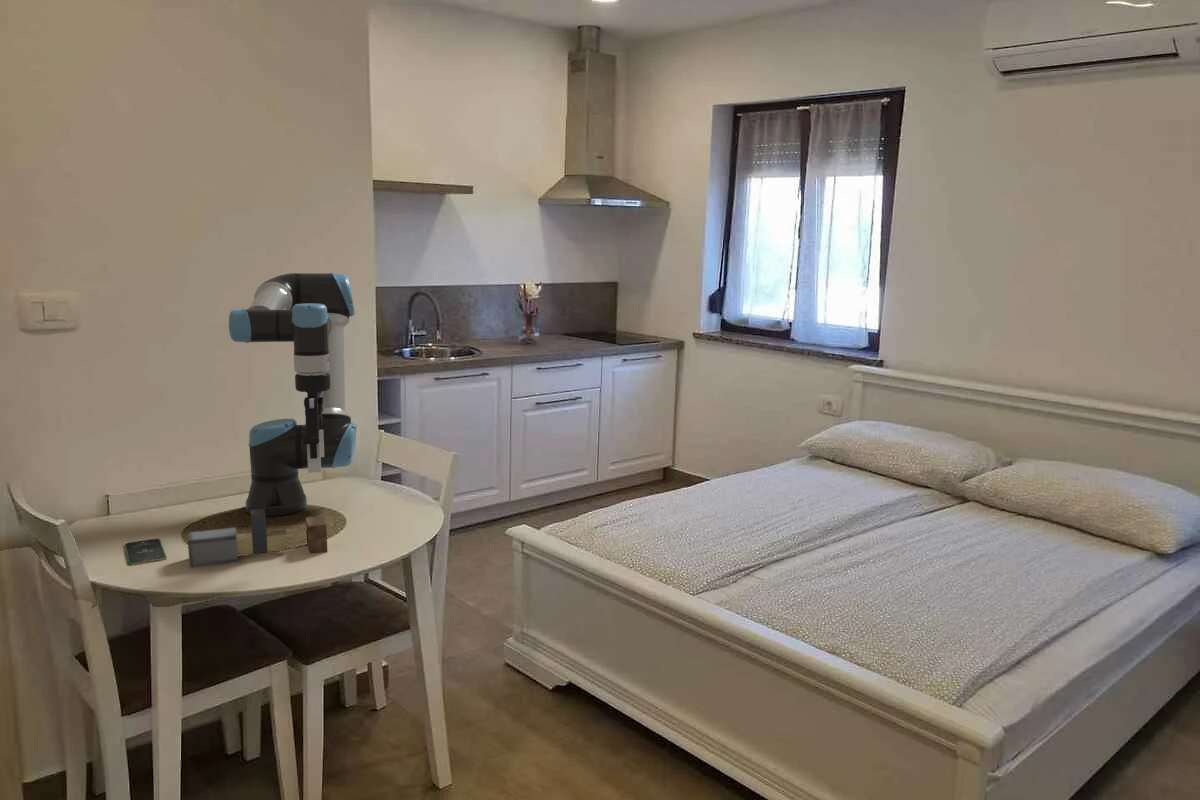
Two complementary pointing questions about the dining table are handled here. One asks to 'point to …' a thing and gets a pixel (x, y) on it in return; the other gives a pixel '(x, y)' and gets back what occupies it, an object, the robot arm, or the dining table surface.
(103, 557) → the dining table surface
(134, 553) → the black processor chip
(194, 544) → the outer sleeve
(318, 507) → the dining table surface
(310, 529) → the socket block
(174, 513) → the dining table surface
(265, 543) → the tan sliding insert
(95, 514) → the dining table surface
